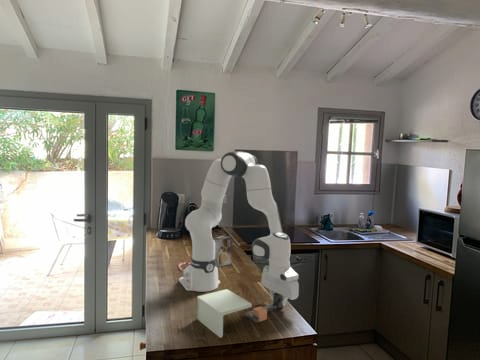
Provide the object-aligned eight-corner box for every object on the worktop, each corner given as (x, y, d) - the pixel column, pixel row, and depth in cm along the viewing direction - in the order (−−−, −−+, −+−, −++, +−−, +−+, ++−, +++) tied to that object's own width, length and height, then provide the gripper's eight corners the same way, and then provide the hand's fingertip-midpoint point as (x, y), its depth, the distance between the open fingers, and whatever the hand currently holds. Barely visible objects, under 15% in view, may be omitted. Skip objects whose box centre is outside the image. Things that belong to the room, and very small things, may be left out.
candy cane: (177, 270, 195) (178, 262, 210) (177, 273, 195) (178, 264, 210) (191, 270, 196) (191, 261, 211) (191, 272, 196) (191, 264, 211)
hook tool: (244, 315, 146) (244, 301, 145) (278, 304, 157) (278, 291, 156) (255, 323, 140) (256, 308, 139) (290, 311, 150) (290, 297, 150)
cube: (252, 318, 144) (253, 308, 144) (260, 315, 146) (260, 306, 146) (258, 322, 141) (259, 312, 141) (266, 319, 143) (267, 309, 143)
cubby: (196, 318, 142) (197, 296, 141) (226, 310, 150) (226, 289, 149) (220, 337, 128) (220, 312, 128) (251, 327, 137) (251, 303, 136)
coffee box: (224, 261, 216) (225, 235, 214) (231, 264, 211) (231, 237, 209) (212, 264, 210) (212, 237, 209) (218, 267, 205) (218, 239, 204)
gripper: (258, 265, 160) (257, 295, 161) (290, 279, 143) (289, 312, 144) (269, 263, 163) (268, 292, 165) (301, 276, 147) (300, 309, 148)
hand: (278, 302), depth 154 cm, fingers open, 5 cm apart
